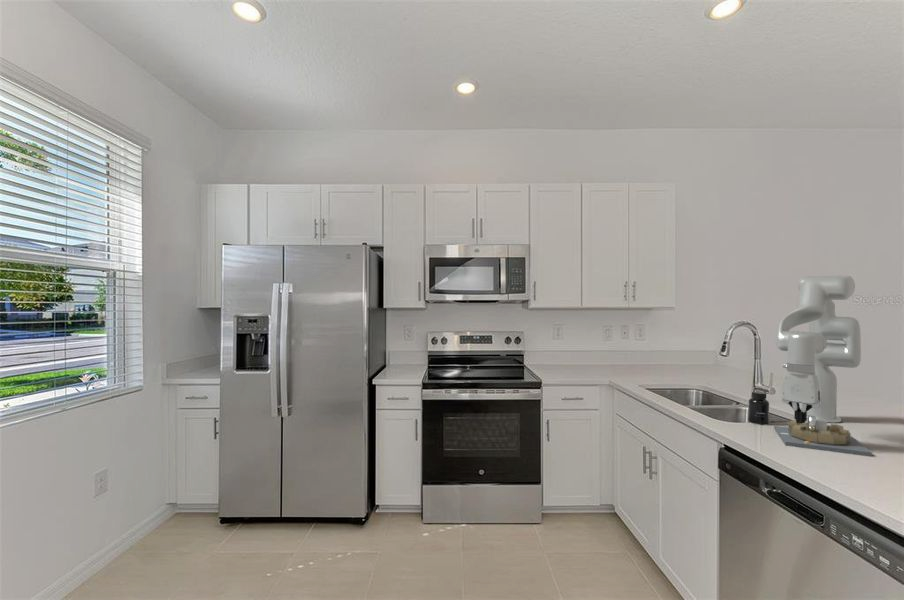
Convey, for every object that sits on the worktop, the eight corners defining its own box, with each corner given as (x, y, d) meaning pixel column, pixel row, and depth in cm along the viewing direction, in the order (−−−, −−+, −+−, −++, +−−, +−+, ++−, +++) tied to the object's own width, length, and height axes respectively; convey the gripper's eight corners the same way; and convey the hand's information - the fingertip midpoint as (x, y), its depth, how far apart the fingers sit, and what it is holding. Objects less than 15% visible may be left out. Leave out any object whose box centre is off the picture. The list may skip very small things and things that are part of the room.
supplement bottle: (759, 425, 175) (759, 394, 175) (743, 420, 182) (744, 391, 182) (773, 424, 177) (773, 393, 177) (757, 419, 184) (757, 390, 184)
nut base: (774, 429, 171) (774, 410, 171) (849, 437, 160) (849, 418, 160) (785, 445, 151) (785, 424, 151) (871, 456, 141) (872, 434, 141)
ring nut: (781, 434, 158) (781, 412, 158) (799, 428, 167) (800, 406, 167) (839, 447, 145) (840, 422, 145) (856, 439, 154) (856, 415, 154)
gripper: (771, 367, 159) (770, 419, 159) (824, 373, 147) (823, 429, 147) (780, 365, 163) (779, 416, 163) (832, 371, 151) (831, 426, 151)
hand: (800, 422), depth 155 cm, fingers closed
